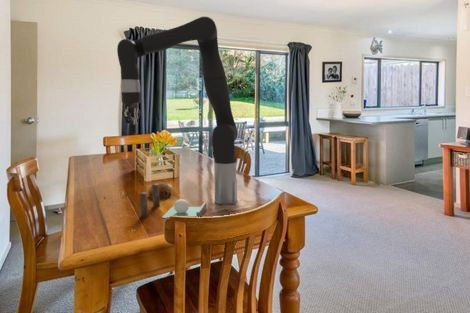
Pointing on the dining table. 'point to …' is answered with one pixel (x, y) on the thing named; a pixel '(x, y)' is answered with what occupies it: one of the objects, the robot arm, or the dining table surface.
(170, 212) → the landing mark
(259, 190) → the dining table surface
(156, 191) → the post right
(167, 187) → the coconut
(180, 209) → the ball
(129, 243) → the dining table surface
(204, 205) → the stopper strip
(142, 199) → the post left
